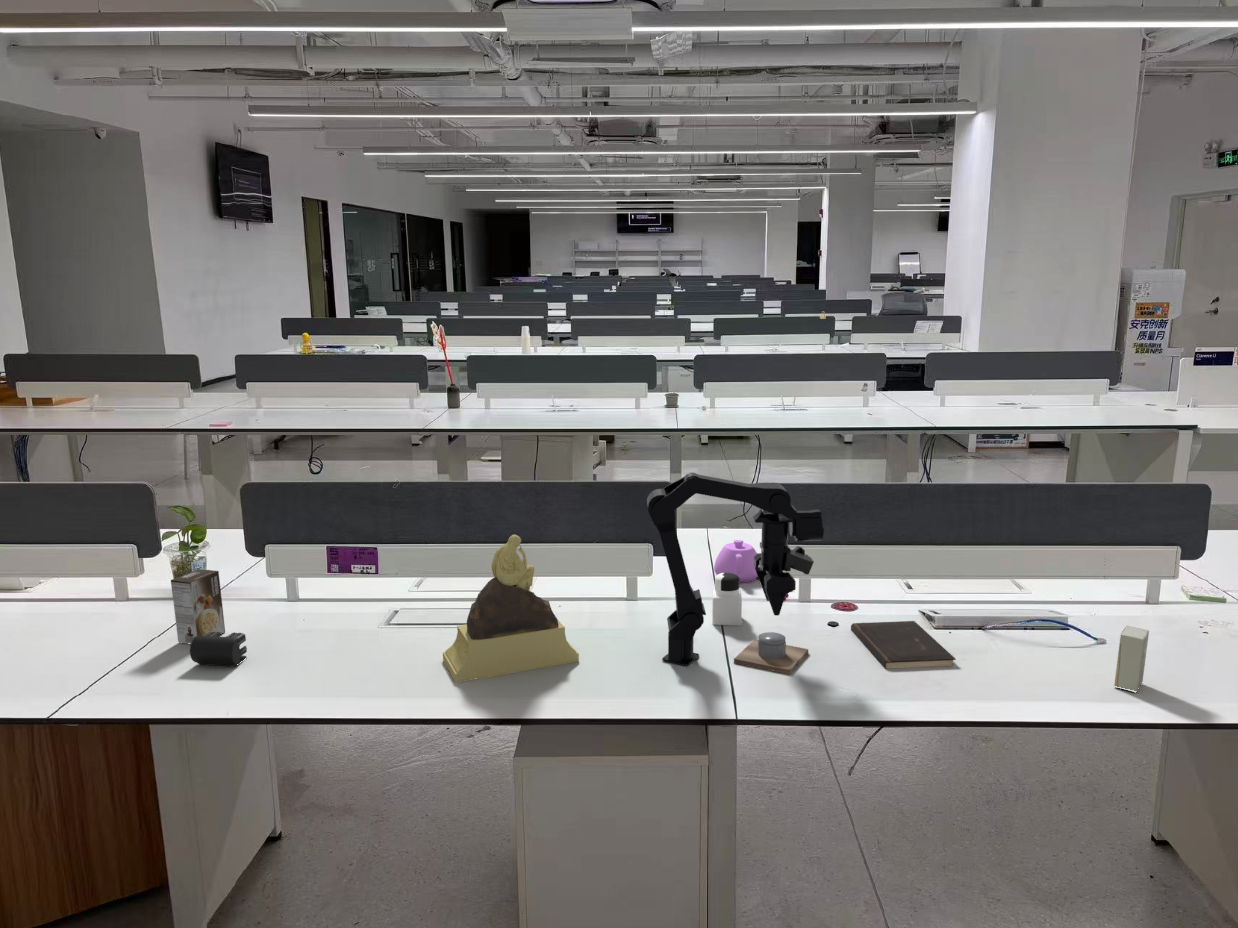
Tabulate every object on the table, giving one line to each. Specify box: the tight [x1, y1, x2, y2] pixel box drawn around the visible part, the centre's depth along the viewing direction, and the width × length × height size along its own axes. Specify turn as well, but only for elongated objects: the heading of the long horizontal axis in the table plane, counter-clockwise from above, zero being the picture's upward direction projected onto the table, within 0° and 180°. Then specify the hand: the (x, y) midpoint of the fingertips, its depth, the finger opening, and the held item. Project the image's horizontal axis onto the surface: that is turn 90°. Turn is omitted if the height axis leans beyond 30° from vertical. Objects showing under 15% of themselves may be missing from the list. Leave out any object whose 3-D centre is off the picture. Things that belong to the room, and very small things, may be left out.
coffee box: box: [170, 568, 226, 644], centre depth 223 cm, size 9×6×16 cm
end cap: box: [189, 632, 248, 667], centre depth 209 cm, size 10×7×7 cm
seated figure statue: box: [442, 534, 580, 683], centre depth 207 cm, size 28×13×30 cm, turn 112°
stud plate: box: [733, 638, 809, 675], centre depth 209 cm, size 13×13×4 cm
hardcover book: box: [850, 620, 956, 670], centre depth 215 cm, size 16×23×2 cm
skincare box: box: [1113, 625, 1150, 691], centre depth 193 cm, size 6×4×12 cm
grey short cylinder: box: [758, 631, 787, 659], centre depth 209 cm, size 6×6×4 cm
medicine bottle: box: [711, 573, 743, 627], centre depth 232 cm, size 7×7×12 cm
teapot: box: [713, 539, 759, 583], centre depth 267 cm, size 14×20×11 cm
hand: (772, 607), depth 207 cm, fingers open, 9 cm apart
